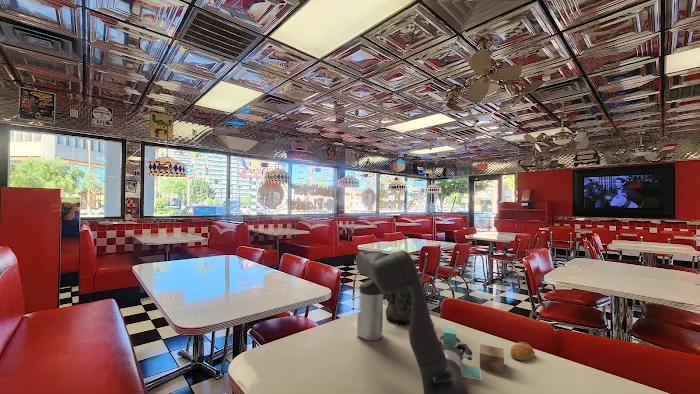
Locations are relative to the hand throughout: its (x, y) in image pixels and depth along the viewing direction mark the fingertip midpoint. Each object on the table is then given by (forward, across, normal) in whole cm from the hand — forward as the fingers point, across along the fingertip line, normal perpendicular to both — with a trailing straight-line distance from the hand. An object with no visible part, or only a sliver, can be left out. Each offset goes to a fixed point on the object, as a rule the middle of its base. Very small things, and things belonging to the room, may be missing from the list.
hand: (450, 339), depth 106 cm
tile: (-8, -6, +6) cm, 12 cm away
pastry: (+11, -24, +6) cm, 27 cm away
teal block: (-3, 0, +6) cm, 7 cm away
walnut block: (-1, -13, +6) cm, 14 cm away
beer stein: (+27, +21, +6) cm, 35 cm away
